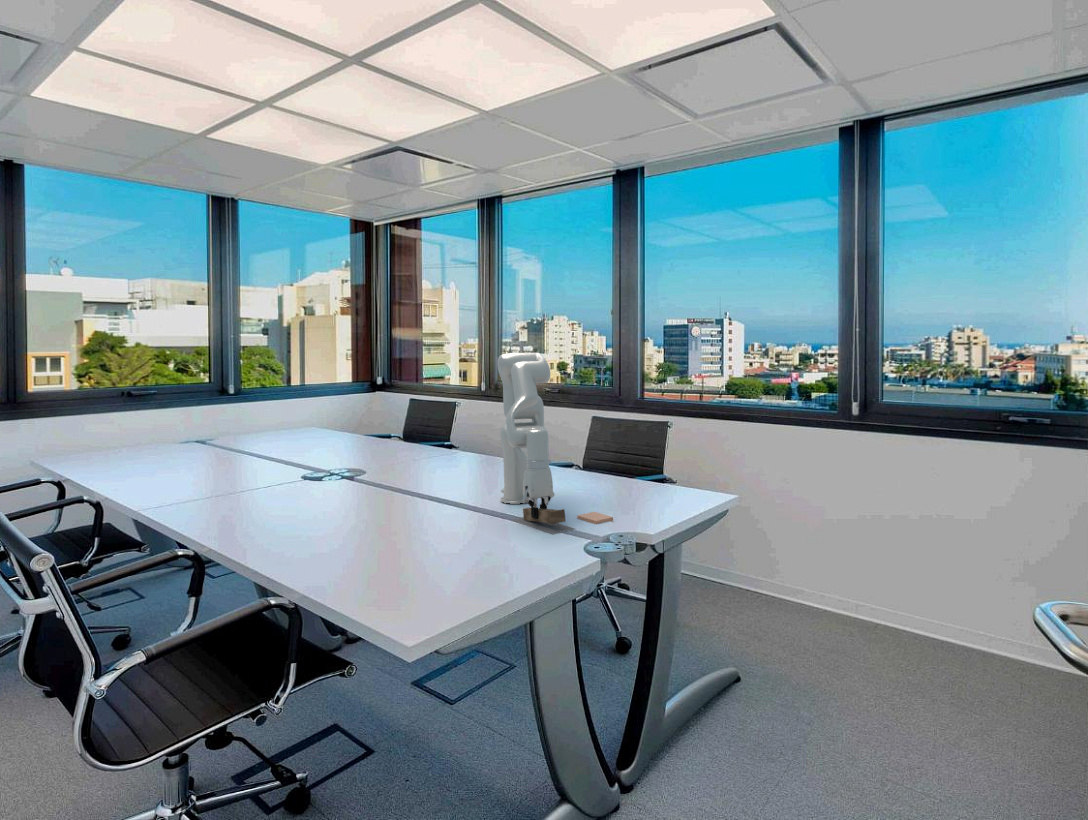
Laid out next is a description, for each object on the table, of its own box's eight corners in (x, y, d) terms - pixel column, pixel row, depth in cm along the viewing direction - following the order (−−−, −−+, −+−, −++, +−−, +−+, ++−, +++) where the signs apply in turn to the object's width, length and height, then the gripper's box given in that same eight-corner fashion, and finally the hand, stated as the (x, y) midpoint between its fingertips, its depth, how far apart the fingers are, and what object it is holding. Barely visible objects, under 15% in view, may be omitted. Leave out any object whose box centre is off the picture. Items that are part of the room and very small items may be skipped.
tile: (577, 515, 231) (595, 521, 223) (594, 511, 235) (613, 517, 227) (577, 521, 231) (595, 527, 223) (594, 517, 236) (613, 522, 228)
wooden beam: (520, 520, 229) (519, 509, 229) (534, 517, 232) (533, 506, 233) (551, 524, 215) (550, 512, 215) (565, 521, 218) (564, 509, 218)
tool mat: (510, 521, 230) (510, 519, 230) (533, 516, 236) (533, 515, 236) (552, 536, 211) (552, 534, 211) (576, 530, 217) (576, 528, 217)
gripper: (549, 460, 231) (551, 511, 233) (512, 466, 221) (513, 519, 223) (563, 463, 225) (564, 515, 227) (525, 469, 215) (526, 523, 217)
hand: (539, 516), depth 225 cm, fingers closed on wooden beam, 3 cm apart
